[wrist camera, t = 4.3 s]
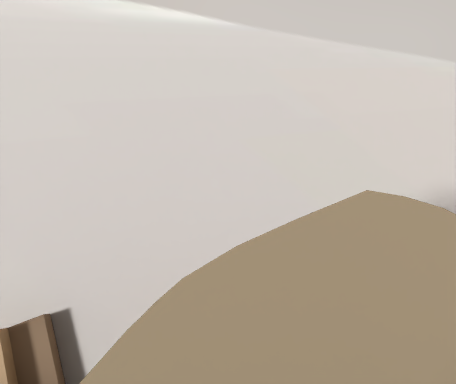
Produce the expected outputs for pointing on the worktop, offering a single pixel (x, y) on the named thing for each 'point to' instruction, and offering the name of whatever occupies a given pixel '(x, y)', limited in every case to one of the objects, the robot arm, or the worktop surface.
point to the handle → (309, 305)
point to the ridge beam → (30, 353)
